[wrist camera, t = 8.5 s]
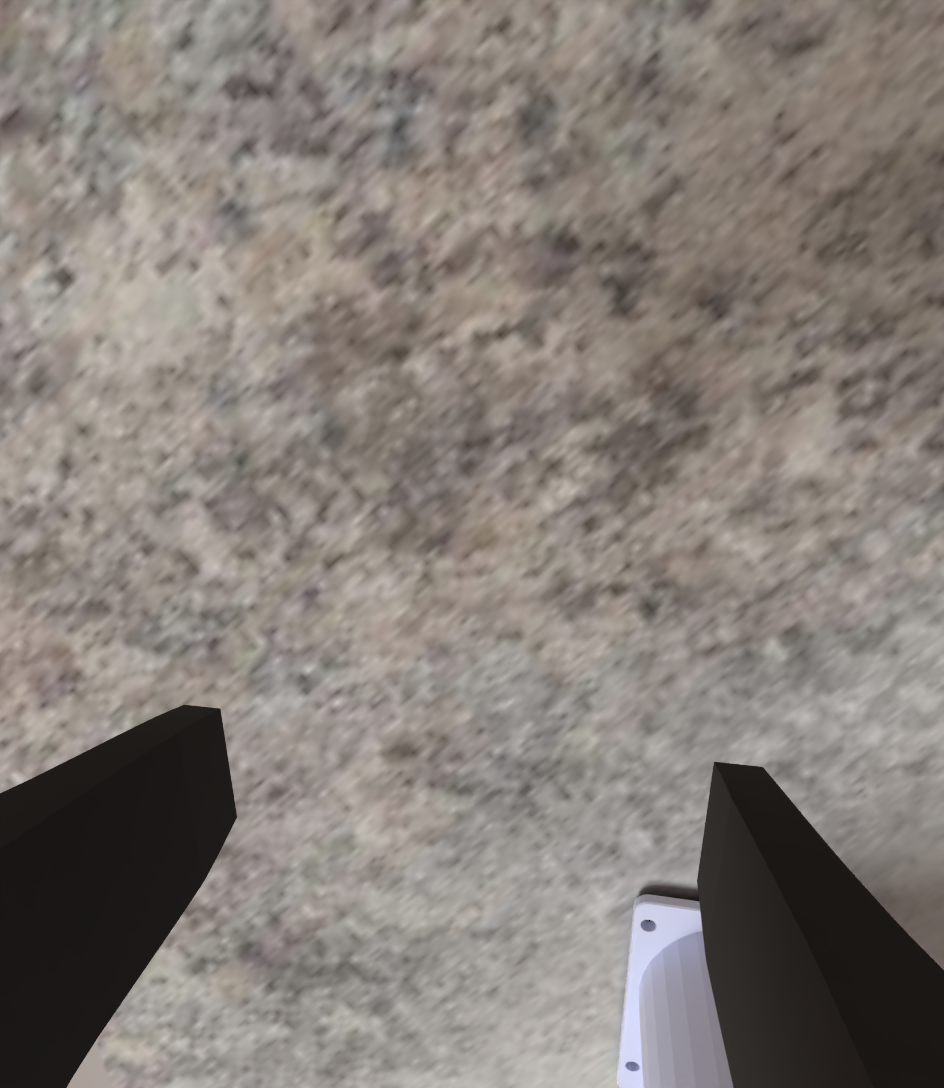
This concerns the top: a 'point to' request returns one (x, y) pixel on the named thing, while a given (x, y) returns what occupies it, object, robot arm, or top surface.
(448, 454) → the top surface
